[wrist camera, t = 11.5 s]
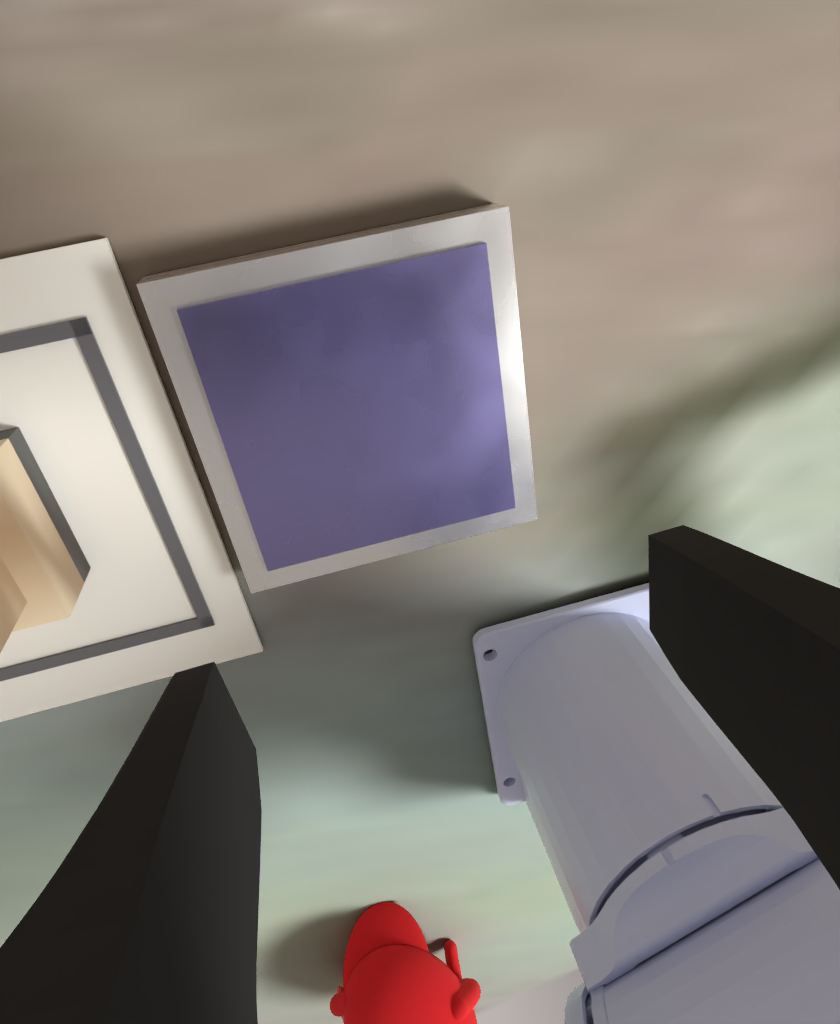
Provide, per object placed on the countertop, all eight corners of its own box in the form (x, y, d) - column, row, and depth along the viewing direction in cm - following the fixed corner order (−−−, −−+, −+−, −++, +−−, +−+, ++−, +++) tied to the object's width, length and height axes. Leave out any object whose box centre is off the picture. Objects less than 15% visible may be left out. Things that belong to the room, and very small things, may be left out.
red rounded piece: (510, 1028, 32) (526, 1055, 26) (410, 1127, 30) (406, 1177, 25) (411, 875, 35) (407, 873, 30) (315, 957, 33) (294, 970, 28)
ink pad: (524, 502, 22) (539, 521, 20) (251, 571, 21) (250, 596, 20) (494, 202, 17) (511, 206, 16) (144, 276, 16) (135, 285, 15)
